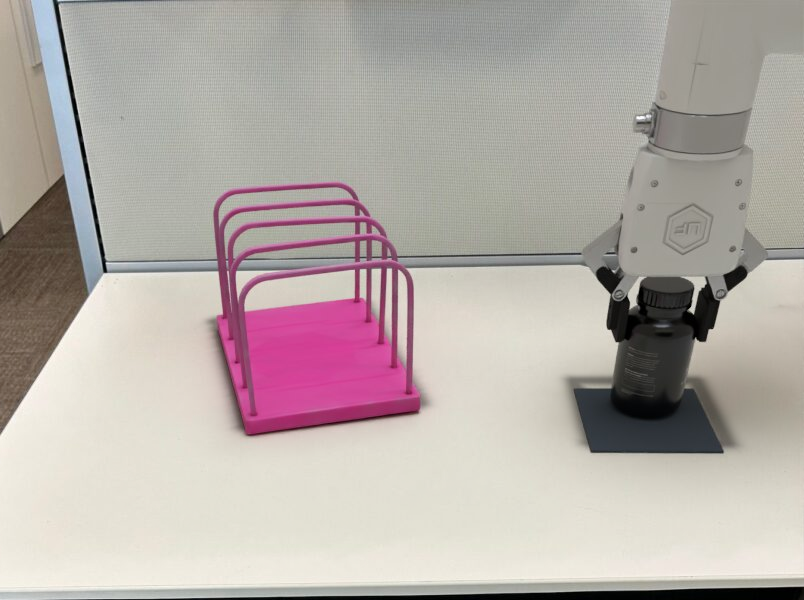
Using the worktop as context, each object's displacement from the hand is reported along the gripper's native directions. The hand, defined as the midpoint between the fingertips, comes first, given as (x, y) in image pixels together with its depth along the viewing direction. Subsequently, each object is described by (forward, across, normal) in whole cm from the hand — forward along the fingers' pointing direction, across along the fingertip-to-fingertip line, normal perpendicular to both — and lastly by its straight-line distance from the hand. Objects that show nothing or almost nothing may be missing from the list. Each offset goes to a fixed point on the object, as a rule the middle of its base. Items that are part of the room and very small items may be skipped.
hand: (657, 334), depth 87 cm
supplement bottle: (+7, 0, 0) cm, 7 cm away
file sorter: (+7, -34, +8) cm, 36 cm away
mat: (+7, 0, -3) cm, 8 cm away
